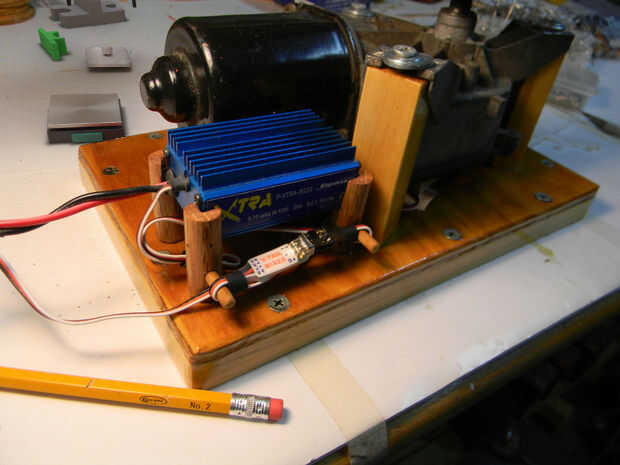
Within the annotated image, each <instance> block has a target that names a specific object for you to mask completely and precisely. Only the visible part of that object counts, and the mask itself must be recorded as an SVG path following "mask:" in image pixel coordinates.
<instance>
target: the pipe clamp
mask: <svg viewBox="0 0 620 465" xmlns="http://www.w3.org/2000/svg"><path fill="white" fill-rule="evenodd" d="M37 32H38V37H39V41H40V45H41V46H42V47H43V48H44V50H45V51H46V52H47V53H48V54H49V55H50V56H51V57H52V58H53V59H54V61H61V60H62V59H61V56H65V55H69V54H68V49H67V42H66V39H65V37H64V36H60V32H59V31H58V30H52V31H46V30H45V29H44V28H43V27H38V28H37Z"/></svg>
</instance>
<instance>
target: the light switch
mask: <svg viewBox="0 0 620 465" xmlns="http://www.w3.org/2000/svg"><path fill="white" fill-rule="evenodd" d="M84 51H85V58H86V66H87V67H89V68H115V67H116V68H126V67H127V68H130V67H132V65H133V64H132V60H131V56H130V53H129V49H128V48H127V47H113V46H112V45H110V44H102V45H101V47H86V48H85V50H84Z"/></svg>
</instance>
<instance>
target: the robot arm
mask: <svg viewBox="0 0 620 465" xmlns="http://www.w3.org/2000/svg"><path fill="white" fill-rule="evenodd" d="M65 1H66V4H67V6H71V4H72V0H65ZM131 5H132V8H133V9H137V0H131Z"/></svg>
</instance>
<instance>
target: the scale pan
mask: <svg viewBox="0 0 620 465" xmlns="http://www.w3.org/2000/svg"><path fill="white" fill-rule="evenodd" d="M49 97H50V98H49V106H48V116H47V129H48V128H68V127H93V126H117V125H122V124H121V116H120V107H119V99H120V98H119V93H116V92H114V93H109V92H108V93H67V94H66V93H64V94H63V93H61V94H60V93H59V94H58V93H57V94H50V96H49Z"/></svg>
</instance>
